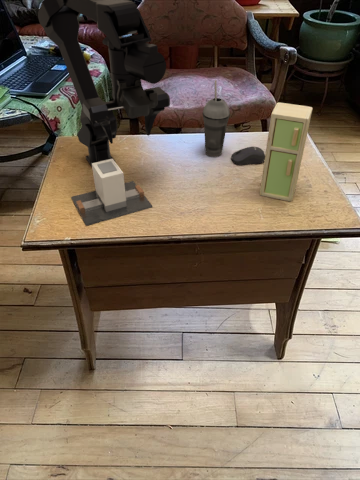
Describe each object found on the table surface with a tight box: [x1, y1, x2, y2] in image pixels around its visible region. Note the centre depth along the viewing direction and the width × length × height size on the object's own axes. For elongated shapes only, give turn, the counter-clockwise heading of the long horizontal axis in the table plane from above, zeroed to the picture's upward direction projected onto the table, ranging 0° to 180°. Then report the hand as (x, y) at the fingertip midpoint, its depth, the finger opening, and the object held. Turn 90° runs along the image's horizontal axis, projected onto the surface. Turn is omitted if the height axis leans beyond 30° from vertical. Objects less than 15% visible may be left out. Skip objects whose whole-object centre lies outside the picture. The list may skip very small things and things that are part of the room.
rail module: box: [91, 158, 127, 212], centre depth 94 cm, size 7×5×9 cm
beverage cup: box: [202, 79, 231, 158], centre depth 109 cm, size 7×7×20 cm
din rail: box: [70, 180, 153, 227], centre depth 97 cm, size 12×16×2 cm
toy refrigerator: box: [259, 102, 313, 202], centre depth 94 cm, size 8×7×21 cm
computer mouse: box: [230, 146, 266, 166], centre depth 112 cm, size 6×9×4 cm, turn 96°
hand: (129, 138), depth 96 cm, fingers open, 9 cm apart
